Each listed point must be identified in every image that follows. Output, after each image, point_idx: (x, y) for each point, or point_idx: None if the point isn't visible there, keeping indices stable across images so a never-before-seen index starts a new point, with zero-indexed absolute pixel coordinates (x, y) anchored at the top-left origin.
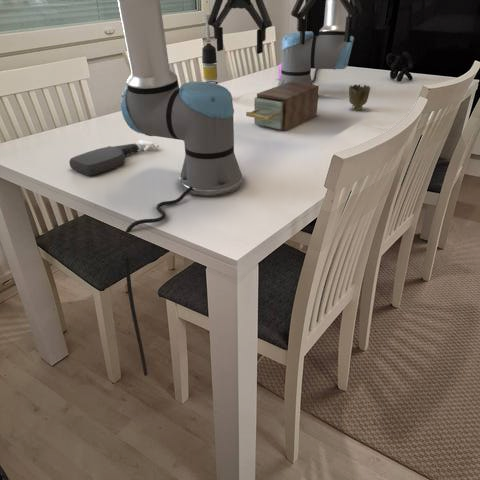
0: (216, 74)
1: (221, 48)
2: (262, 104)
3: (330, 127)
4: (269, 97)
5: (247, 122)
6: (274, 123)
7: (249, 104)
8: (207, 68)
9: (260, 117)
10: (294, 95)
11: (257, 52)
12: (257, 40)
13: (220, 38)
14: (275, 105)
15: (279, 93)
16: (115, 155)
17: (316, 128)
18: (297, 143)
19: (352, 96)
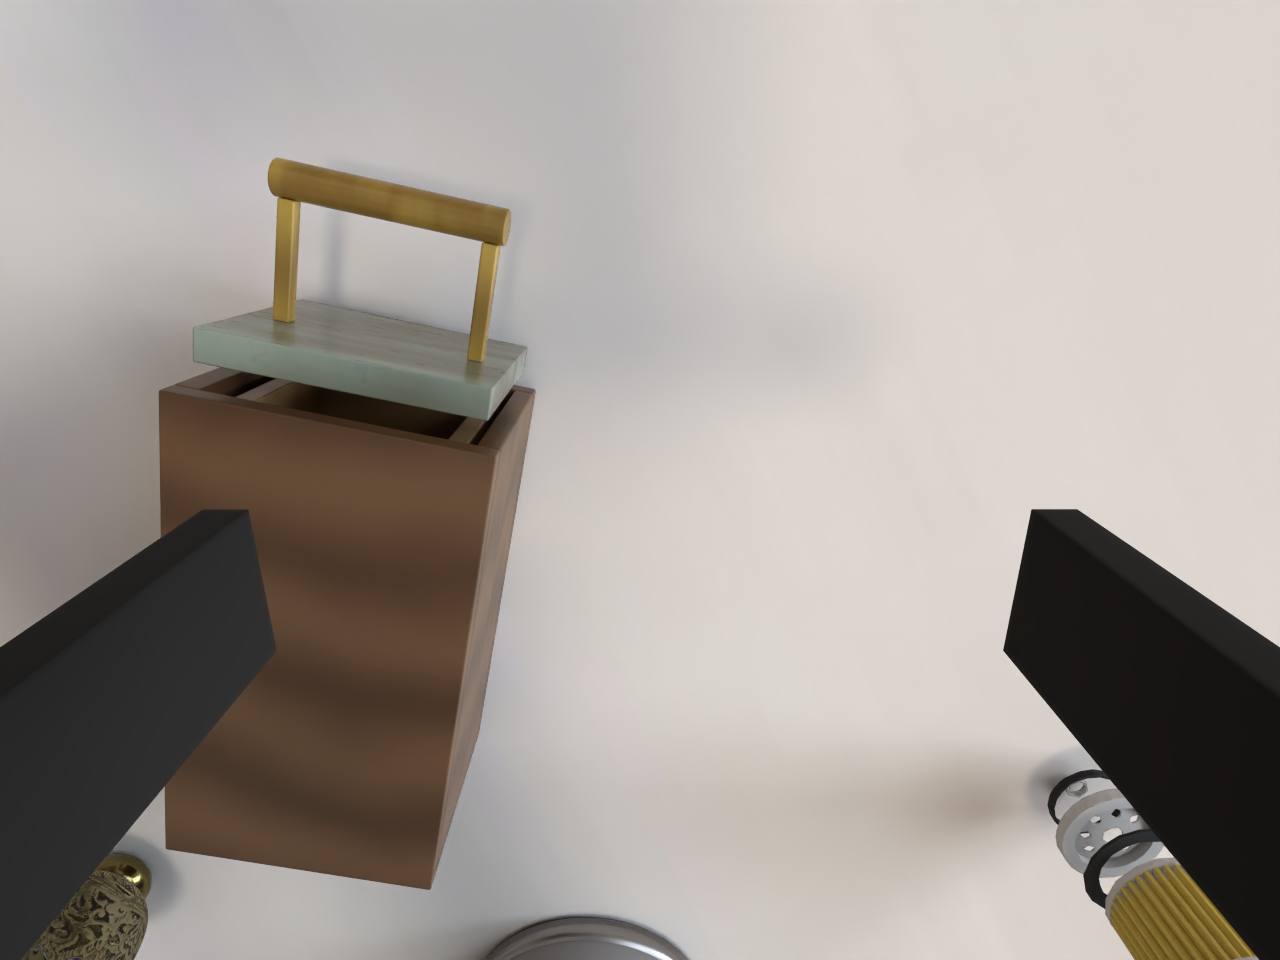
0: (1129, 938)
1: (1031, 608)
2: (412, 361)
3: (82, 521)
4: (354, 423)
5: (619, 413)
6: (337, 314)
7: (775, 761)
8: (1237, 947)
9: (354, 175)
10: (161, 521)
11: (224, 515)
12: (78, 630)
13: (1156, 698)
14: (266, 333)
15: (311, 533)
16: None
17: (145, 470)
18: (80, 117)
19: (78, 909)
